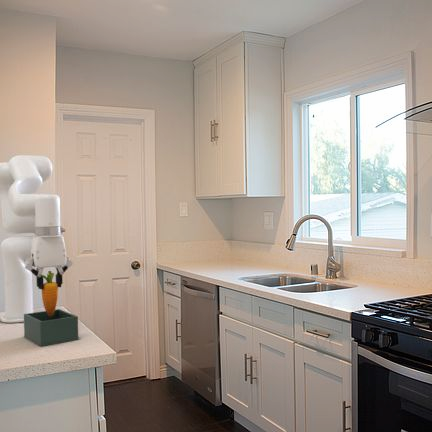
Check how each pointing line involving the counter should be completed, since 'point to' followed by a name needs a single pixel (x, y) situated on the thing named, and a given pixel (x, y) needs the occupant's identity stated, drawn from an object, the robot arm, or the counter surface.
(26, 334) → the bin
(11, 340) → the counter surface
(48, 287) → the carrot
